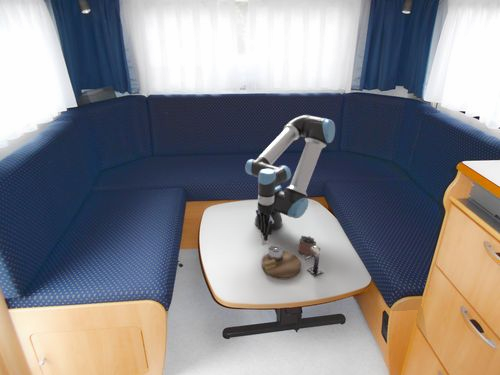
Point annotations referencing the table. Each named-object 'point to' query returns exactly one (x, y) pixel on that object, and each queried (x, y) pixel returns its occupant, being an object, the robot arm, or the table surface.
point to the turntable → (282, 266)
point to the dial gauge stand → (315, 261)
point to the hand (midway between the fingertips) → (264, 244)
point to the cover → (275, 253)
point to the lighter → (306, 245)
